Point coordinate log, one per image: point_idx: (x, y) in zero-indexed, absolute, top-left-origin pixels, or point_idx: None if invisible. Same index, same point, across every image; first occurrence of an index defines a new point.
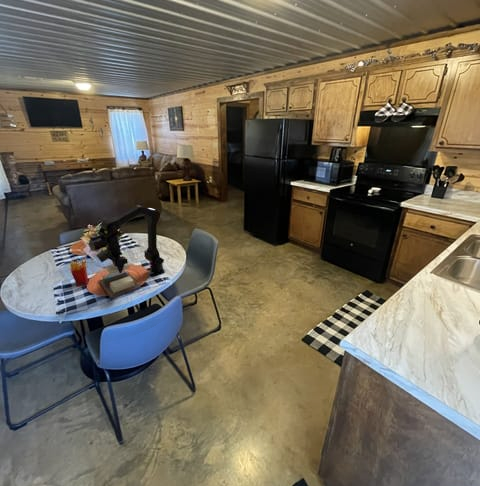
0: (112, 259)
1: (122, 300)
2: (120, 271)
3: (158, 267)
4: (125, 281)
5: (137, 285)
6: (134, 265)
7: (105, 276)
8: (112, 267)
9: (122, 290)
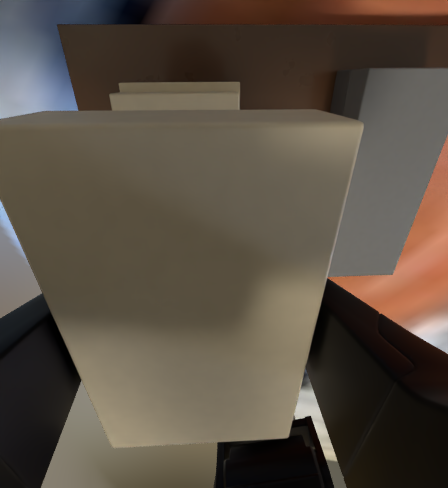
0: (418, 438)
1: (8, 116)
2: None
3: None
4: None
5: None
6: (427, 316)
7: (419, 94)
8: (160, 253)
9: None
